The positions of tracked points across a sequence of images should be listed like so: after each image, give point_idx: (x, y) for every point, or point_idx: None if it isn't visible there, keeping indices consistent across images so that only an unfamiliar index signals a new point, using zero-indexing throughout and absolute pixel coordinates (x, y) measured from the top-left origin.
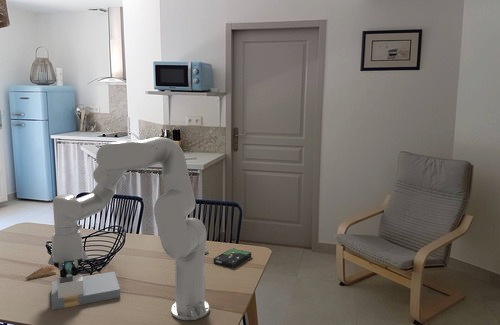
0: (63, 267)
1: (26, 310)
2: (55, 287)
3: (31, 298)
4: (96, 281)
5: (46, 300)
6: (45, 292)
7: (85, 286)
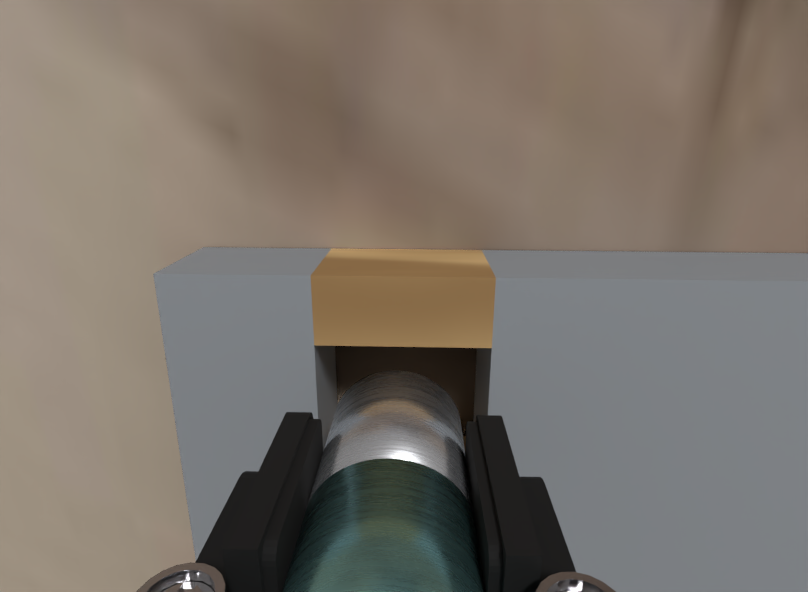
0: (265, 575)
1: (40, 580)
2: (226, 469)
3: (19, 380)
4: (731, 510)
5: (179, 478)
6: (137, 297)
7: None
